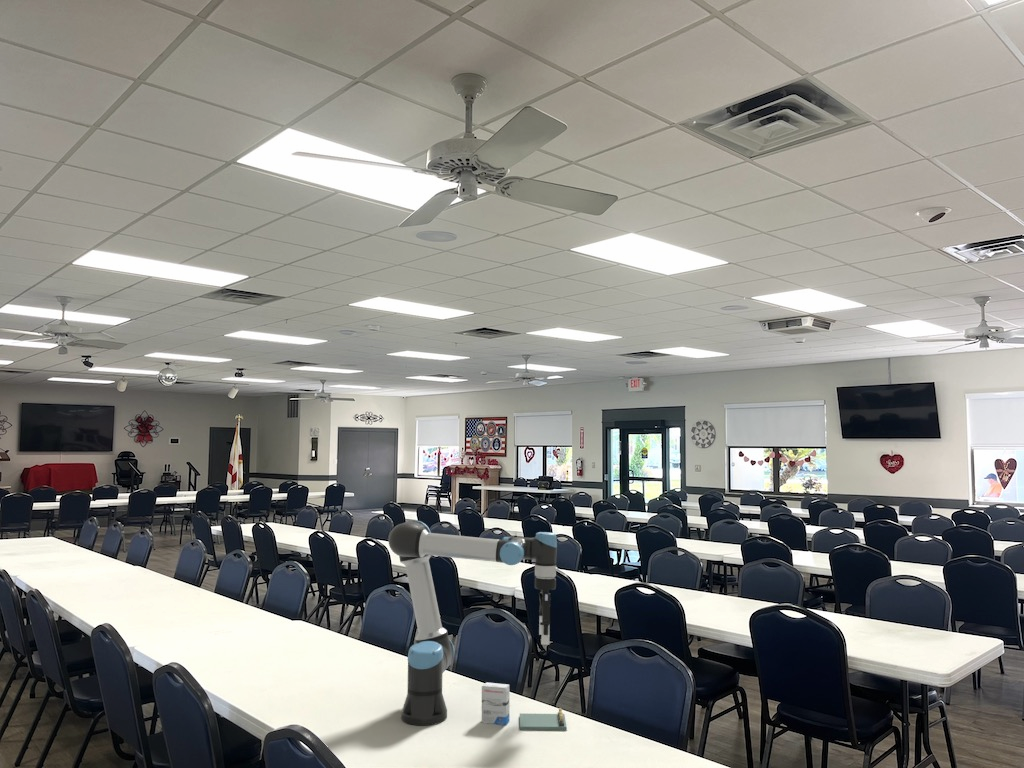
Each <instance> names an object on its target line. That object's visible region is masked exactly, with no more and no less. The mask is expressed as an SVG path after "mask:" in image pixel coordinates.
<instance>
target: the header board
mask: <svg viewBox="0 0 1024 768" xmlns="http://www.w3.org/2000/svg"><path fill="white" fill-rule="evenodd" d="M567 728H568V727H567V721H566V716H565V713H563V708H560V707H559V708H558V712H557V713H519V730H520V731H522V730H523V731H535V730H536V731H567Z"/></svg>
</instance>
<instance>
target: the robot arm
mask: <svg viewBox="0 0 1024 768" xmlns="http://www.w3.org/2000/svg"><path fill="white" fill-rule="evenodd" d="M557 537H558V536H557V535H556V533H554V532H549V531H548V532H547V531H539V532H536V533H535V536H534V537H523V536H522V537H521V536H520V537H519V536H504V537H502V539H497V538H496V539H495V538H486V537H485V538H484V537H475V536H465V535H456V534H445V533H437V532H436V533H435V532H431V530H430V528H429V526H428V525H427V524H426V523H424V522H423V521H421V520H409V521H406V522H403V523H399V524H397V525H395V526H394V527H393V528H392V529H391V531H390V532H389V535H388V546H389V548H390V550H391V551H392V552H393V553H394V554H395V555H396V556H399V562H400V563H401V564H402V565H404V566H405V570H406V577H407V582H408V585H409V592H410V596H411V602H412V607H413V611H414V612H413V613H414V617H415V622H416V627H417V631H418V632H417V634H416V636H415V638H414V639H415V643H414V644H412V645H411V646H410V647H409V649H408V652H407V653H408V654H407V692H406V693H407V694H406V698H405V700H404V704H403V707H402V709H401V720H402V722H404V723H405V724H409V725H413V726H431V725H435V724H436V725H437V724H440V723H442V722H444V721H445V720H446V719H447V717H448V708H447V705H446V702H445V699H444V698H445V697H444V694H443V673H445V672H446V670H447V669H448V668H449V667H450V666H451V664H452V663H453V660H454V656H455V647H454V644H453V642H452V640H451V639H450V638H449V633H448V630H447V629H446V628H445V627H443V624H442V621H441V616H440V610H439V605H438V601H437V595H436V590H435V585H434V580H433V576H432V570H431V565H430V559H431V557H432V556H433V557H444V558H453V559H464V560H473V561H475V560H476V561H485V562H496V563H501V564H505V565H507V566H515V565H518V564H519V563H521V562H522V560H534V561H535V562H534V589H536V590H539V591H540V592H539V593H538V596H539V597H538V598H539V602H538V603H539V610H538V612H539V616H538V617H539V619H538V621H539V624H538V626H539V627H538V635H539V636H540V635H541V637H540V638H541V639H540V640H541V642H540V645H545V646H546V645H547V646H548V645H550V637H551V636H550V633H551V631H550V628H551V627H550V625H551V601H552V594H551V593H550V590H551V591H553V590H556V588H557V579H556V576H557V571H558V570H559V568H558V567H557V553H558V552H557V550H558V541H557Z"/></svg>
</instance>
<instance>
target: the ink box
mask: <svg viewBox="0 0 1024 768" xmlns="http://www.w3.org/2000/svg"><path fill="white" fill-rule="evenodd" d="M510 706H511V705H510V684H506V683H497V682H496V683H495V682H485V683H484V684H483V685H482V686H481V723H483V724H490V725H501V726H507V724H508V723H509V722H510V717H511V715H510Z"/></svg>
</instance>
